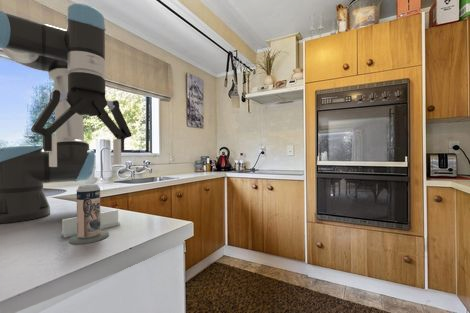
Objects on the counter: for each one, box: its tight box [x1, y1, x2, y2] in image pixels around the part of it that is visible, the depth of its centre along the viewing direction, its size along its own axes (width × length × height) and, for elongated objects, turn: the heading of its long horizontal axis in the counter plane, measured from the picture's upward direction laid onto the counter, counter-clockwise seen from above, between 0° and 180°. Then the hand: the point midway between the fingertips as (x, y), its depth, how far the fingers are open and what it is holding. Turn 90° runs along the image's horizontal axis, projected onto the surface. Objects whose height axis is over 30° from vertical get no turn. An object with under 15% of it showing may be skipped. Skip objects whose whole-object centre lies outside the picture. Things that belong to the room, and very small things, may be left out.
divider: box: [60, 209, 121, 238], centre depth 62 cm, size 3×13×4 cm, turn 142°
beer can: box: [76, 184, 102, 239], centre depth 55 cm, size 5×5×12 cm
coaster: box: [68, 230, 109, 245], centre depth 55 cm, size 8×8×1 cm
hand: (88, 165), depth 55 cm, fingers open, 13 cm apart
